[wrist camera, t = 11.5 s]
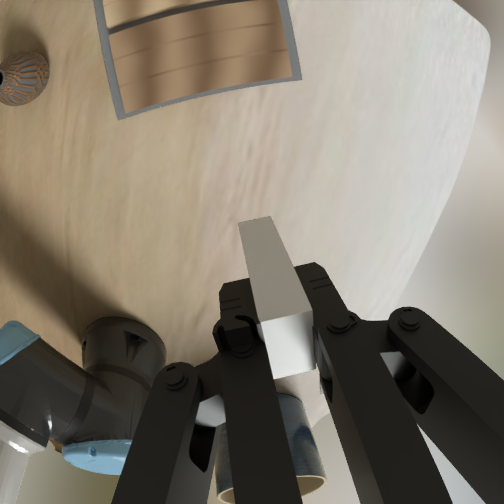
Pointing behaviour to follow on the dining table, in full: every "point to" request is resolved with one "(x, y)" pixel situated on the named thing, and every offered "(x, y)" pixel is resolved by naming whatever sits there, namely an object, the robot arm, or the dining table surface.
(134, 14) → the plank
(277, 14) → the laid board
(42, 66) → the vase
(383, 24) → the dining table surface
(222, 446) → the planter
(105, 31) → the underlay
